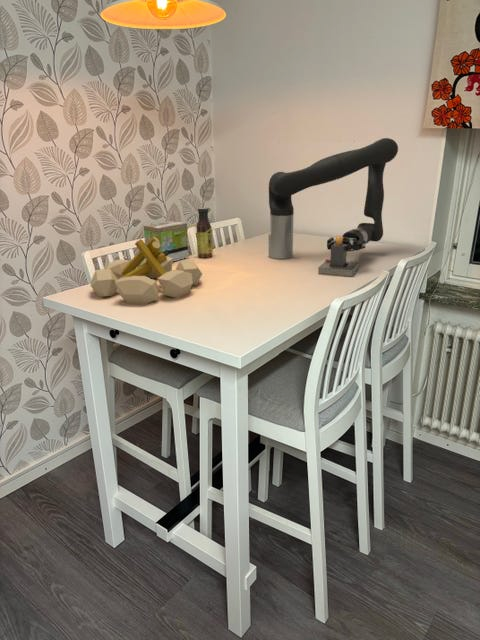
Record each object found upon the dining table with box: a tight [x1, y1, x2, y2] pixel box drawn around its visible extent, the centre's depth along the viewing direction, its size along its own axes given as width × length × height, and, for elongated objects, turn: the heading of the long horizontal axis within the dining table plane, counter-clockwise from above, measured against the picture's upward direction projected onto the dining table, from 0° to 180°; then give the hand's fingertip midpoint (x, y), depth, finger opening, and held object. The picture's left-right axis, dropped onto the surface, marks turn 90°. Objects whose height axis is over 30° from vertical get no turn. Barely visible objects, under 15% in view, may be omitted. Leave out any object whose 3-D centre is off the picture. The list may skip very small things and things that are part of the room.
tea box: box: [143, 220, 189, 262], centre depth 197 cm, size 15×10×15 cm
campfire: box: [90, 236, 203, 305], centre depth 160 cm, size 35×34×17 cm
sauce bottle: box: [195, 207, 213, 259], centre depth 200 cm, size 7×6×20 cm
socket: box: [317, 258, 360, 278], centre depth 177 cm, size 12×12×3 cm
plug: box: [329, 235, 348, 267], centre depth 176 cm, size 5×5×12 cm
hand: (337, 247), depth 173 cm, fingers open, 5 cm apart
